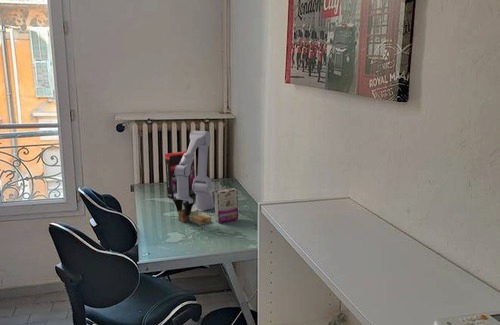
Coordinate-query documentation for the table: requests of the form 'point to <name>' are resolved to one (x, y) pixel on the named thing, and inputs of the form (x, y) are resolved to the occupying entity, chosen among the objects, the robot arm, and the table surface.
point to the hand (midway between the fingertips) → (183, 213)
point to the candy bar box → (226, 205)
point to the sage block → (193, 212)
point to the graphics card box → (171, 163)
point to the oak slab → (201, 219)
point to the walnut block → (183, 216)
